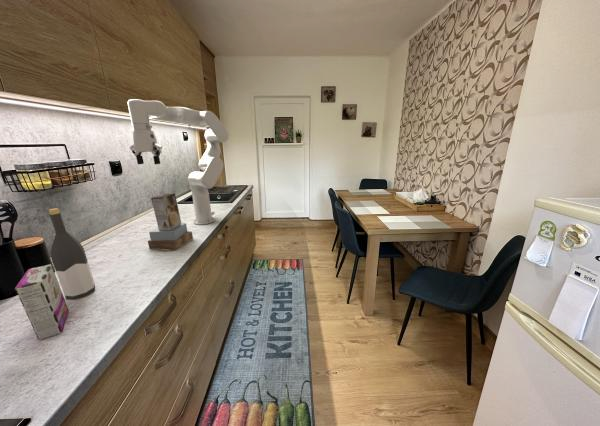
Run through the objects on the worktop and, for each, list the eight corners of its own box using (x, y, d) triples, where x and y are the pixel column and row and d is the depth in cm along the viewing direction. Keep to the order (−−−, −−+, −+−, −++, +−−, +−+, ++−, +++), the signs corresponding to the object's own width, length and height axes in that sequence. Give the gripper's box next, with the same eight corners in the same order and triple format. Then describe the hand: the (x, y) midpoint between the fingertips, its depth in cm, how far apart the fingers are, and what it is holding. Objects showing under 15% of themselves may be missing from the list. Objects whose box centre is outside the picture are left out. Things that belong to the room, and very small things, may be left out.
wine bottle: (90, 283, 88) (65, 204, 79) (100, 290, 84) (75, 207, 75) (61, 295, 81) (30, 210, 73) (70, 303, 77) (39, 214, 69)
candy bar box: (47, 317, 71) (27, 268, 67) (69, 310, 74) (52, 263, 69) (36, 342, 63) (13, 287, 58) (62, 333, 65) (42, 280, 61)
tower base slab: (169, 238, 129) (167, 230, 128) (193, 239, 127) (191, 231, 126) (149, 249, 116) (147, 240, 115) (175, 251, 114) (174, 242, 112)
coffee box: (170, 224, 124) (163, 193, 119) (181, 224, 123) (175, 193, 118) (158, 230, 115) (150, 197, 110) (170, 230, 114) (163, 197, 110)
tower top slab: (164, 231, 126) (162, 223, 125) (187, 231, 126) (186, 223, 125) (151, 240, 115) (149, 231, 114) (176, 240, 115) (174, 231, 114)
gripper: (163, 127, 118) (169, 163, 123) (133, 128, 121) (140, 163, 126) (151, 127, 111) (158, 164, 116) (119, 128, 114) (128, 164, 119)
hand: (149, 164), depth 121 cm, fingers open, 9 cm apart
